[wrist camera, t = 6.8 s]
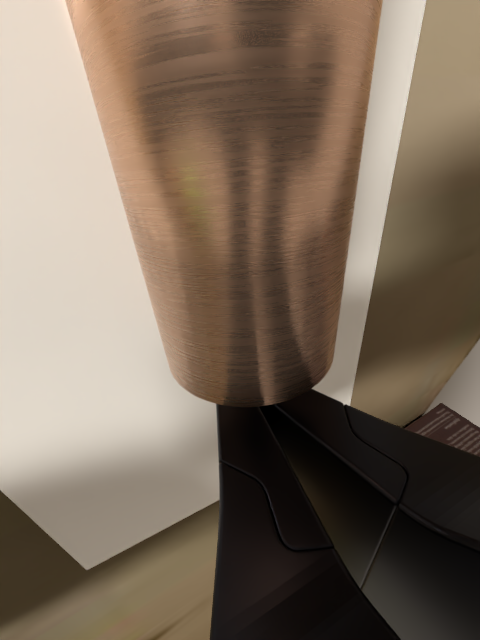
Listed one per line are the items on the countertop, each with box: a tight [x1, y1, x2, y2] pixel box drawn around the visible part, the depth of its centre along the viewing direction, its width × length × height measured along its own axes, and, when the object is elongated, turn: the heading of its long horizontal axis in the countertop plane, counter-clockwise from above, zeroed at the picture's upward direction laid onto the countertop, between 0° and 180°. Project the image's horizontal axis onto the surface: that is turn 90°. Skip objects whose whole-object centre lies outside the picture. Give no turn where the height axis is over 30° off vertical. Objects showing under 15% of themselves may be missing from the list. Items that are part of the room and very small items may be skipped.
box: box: [404, 403, 480, 456], centre depth 20 cm, size 6×6×7 cm
